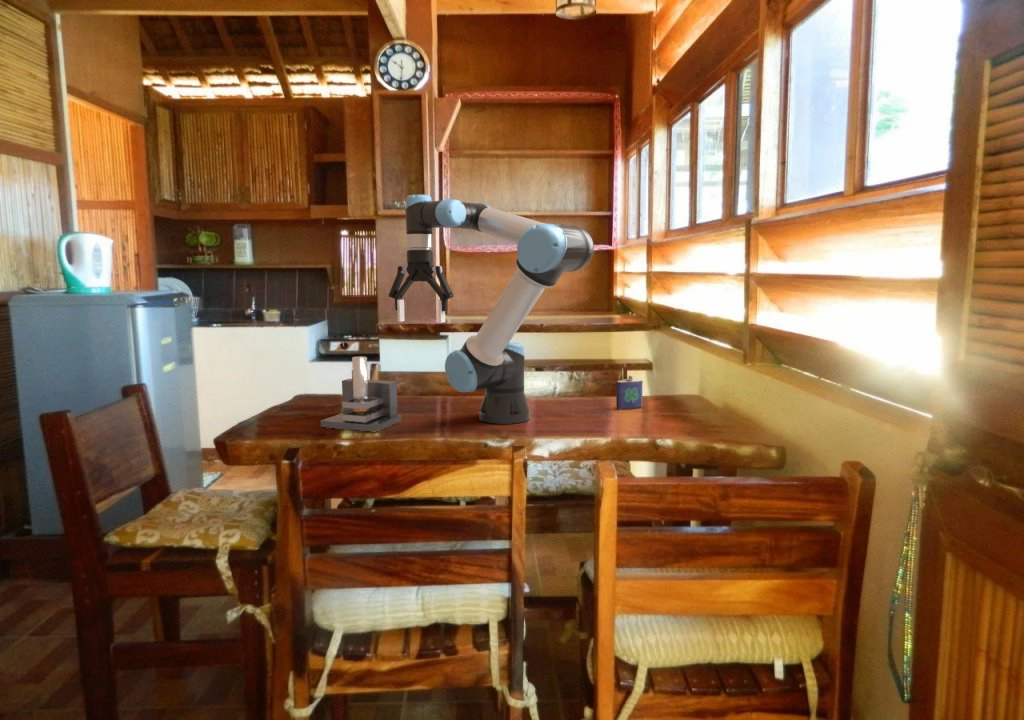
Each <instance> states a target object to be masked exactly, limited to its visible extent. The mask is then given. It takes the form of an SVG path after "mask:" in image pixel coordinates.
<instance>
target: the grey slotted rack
mask: <svg viewBox="0 0 1024 720" xmlns="http://www.w3.org/2000/svg"><path fill="white" fill-rule="evenodd" d="M397 385H398V382H397V381H394V380H380V379H378V380H377V379H368V402H366V403H357V402H354V393H353V369H352V370H351V378H347V379H343V380H341V392H342V393H341V395H342V402H341V404H342V405H341V406H342V412H341V413H339V414H336V415H333V416H329V417H326V418H324V419H321V420H320V428H321V427H326V428H325V429H331V428H335V429H334V430H342V429H346V430H345V431H352V430H361V431H360V432H363V431H378V430H380V429H383V428H385V427H388V426H390V427H392V426H391V425H393V424H395V425H397V424H396V423H398V424H400V423H402V422H401V421H402V420H403V419H402V414H398V386H397ZM368 408H369V414H368V415H366V416H360V415H354V409H368ZM355 421H357V422H355ZM399 422H400V423H399ZM393 426H394V425H393ZM388 428H389V427H388ZM383 430H384V429H383Z"/></svg>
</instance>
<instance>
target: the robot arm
mask: <svg viewBox="0 0 1024 720" xmlns="http://www.w3.org/2000/svg"><path fill="white" fill-rule="evenodd" d="M404 212H405V229H406V235H405V236H406V237H405V238H406V248H407V249H408V250H407V251H406V262H407V266H404V265H398V266H397V273H396V276H395V279H394V281H393V283H392V285H391V288H390V289H389V290H390V291H389V293H388V297H389V298H392V299H394V308H395V311H397V322H398V323H400V322H405V317H406V315H405V299H403V297H404V295H405V294H406V293H407V291H408V290H409V288H410V287H411V286H412V285H413V283H415V282H426V283H428V284H429V286H430V287H431V288H432V289H433V291H434V292H435V293H436V295H437V297H439V300H438V301H437V302H438V307H437V308H438V324H442V323H446V312H447V311H448V305H449V304H448V302H449V301H448V300H449V299H452V298H454V293H453V291H452V288H451V287H450V284H449V283H448V280H447V278H446V275H445V274H444V267H443V265H436V266H434V264H433V263H434V258H433V257H434V254H433V250H432V249H433V229H436V228H439V229H441V228H448V229H464V230H465V229H466V230H474V231H476V232H479V233H483V234H487V235H491V236H493V237H495V238H499V239H502V240H505V241H508V242H511V243H514V244H517V245H516V249H517V252H516V260H515V267H516V271H515V273H514V274H513V275H512V278H511V279H510V281H509V282H508V284H507V286H506V287H505V289H504V291H503V292H502V293H501V295H500V297H499V298H498V299H497V302H496V303H495V305H494V307H492V309H491V311H490V313H489V314H488V316H487V318H486V319H485V320H484V322H483V324H482V326H481V327H480V329H479V330H478V332H477V334H476V335H471V336H469V337H467V338H466V341H465V342H464V344H463V345H462V347H461V348H460V349H459V350H457V349H456V350H453V351H451V352H450V353H448V355H447V357H446V358H445V362H444V371H445V376H446V380H448V383H449V385H450V386H451V387H452V388H453V389H454V390H456V391H457V392H460V393H473V392H475V391H479V390H480V391H481V390H482V389H483V390H484V395H483V398H482V402H481V406H480V409H479V415H478V416H479V417H478V418H479V420H480V421H482V422H485V423H488V424H498V425H499V424H502V425H503V424H504V425H505V424H506V425H509V424H518V423H519V424H520V423H524V422H527V421H529V420H530V419H531V409H530V406H529V403H528V400H527V398H526V394H525V357H526V355H525V349H524V348H525V347H524V345H523V344H522V343H518V342H511V340H512V339H513V337H514V336H515V335H516V333H517V331H518V330H519V328H520V327H521V326H522V324H523V323H524V321H525V320H526V318H527V317H528V315H529V313H530V312H531V310H533V307H534V306H535V305H536V303H537V302H538V300H539V299H540V297H541V296H542V294H543V292H544V291H545V289H547V288H552V287H555V285H556V284H557V283H558V281H559V279H560V278H561V277H562V275H563V274H564V273H571V272H577V271H580V270H582V269H584V268H585V267H586V266H588V265H589V263H590V262H591V260H592V258H593V256H594V252H595V248H594V241H593V239H592V236H591V235H590V233H589V232H587V231H586V230H585V229H584V228H582V227H579V226H575V225H566V224H561V223H560V224H559V223H558V224H553V223H544V222H540V221H538V220H534V219H531V218H529V217H528V218H526V217H524V216H520V215H517V214H514V213H510V212H507V211H504V210H501V209H498V208H497V209H496V208H494V207H491V206H490V205H489V204H485V203H479V202H476V203H475V202H466V201H460V200H459V199H453V198H452V199H451V198H450V199H448V198H445V199H442V200H432V197H431V195H428V194H410V195H407V196H406V198H405V210H404ZM433 273H434V274H436V277H437V280H438V282H439V283H438V282H437V281H436V278H435V277H434V276H433ZM405 274H408V275H407V277H406V278H405ZM404 278H405V280H404ZM403 280H404V282H403ZM402 283H403V284H402ZM439 284H440V285H439Z"/></svg>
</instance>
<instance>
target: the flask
mask: <svg viewBox="0 0 1024 720" xmlns="http://www.w3.org/2000/svg"><path fill="white" fill-rule="evenodd" d="M633 378H634V376H633V375H632V374H631V375H630V374H629V375H628V377H627V378H626V379H625V378H624V379H620V380H618V381H616V386H615V387H616V389H615V390H616V391H615V392H616V394H615V395H616V398H615V399H616V405H615V406H616V407H615V408H616V410H617V411H625V410H634V409H635V410H636V409H637V410H638V409H642V408H643V382H644V381H643V379H633Z"/></svg>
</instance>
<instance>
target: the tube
mask: <svg viewBox="0 0 1024 720" xmlns="http://www.w3.org/2000/svg"><path fill="white" fill-rule="evenodd" d="M351 358H352V359H351V360H352V364H351V365H352V370H353V393H354V402H357V403H366V402H368V380H369V378H368V357H367V356H361V355H360V356H353V357H351ZM368 414H369V408H368V409H354V415H360V416H366V415H368ZM355 422H357V421H355Z"/></svg>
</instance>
